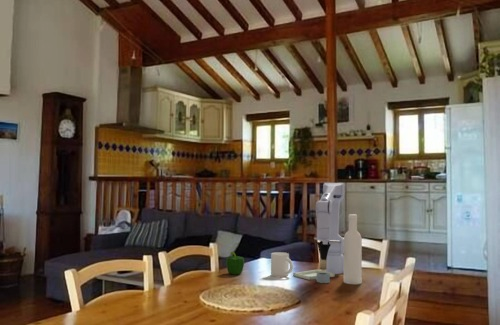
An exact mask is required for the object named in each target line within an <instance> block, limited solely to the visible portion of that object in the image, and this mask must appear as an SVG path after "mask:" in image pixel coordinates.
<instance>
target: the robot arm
mask: <svg viewBox="0 0 500 325" xmlns="http://www.w3.org/2000/svg"><path fill="white" fill-rule="evenodd" d="M322 186H323V187H322V193H323V194H322V195H321V196H320V199H319V200H317V201H316V202H315V212H316V213H315V216H316V237H314V238H313V239H314V240H316V242H315V243H316V245H317V249H318V252H319V253H318V255H319V257H320V256H321V260H326V259H327V269H325V271H326V272H331V273H335V275H341V274H344V237H343V236H341V235H340V234H339V230H340V205H341V202H342V201H343V200H344V199H345V188H346V187H345V183H343V182H324V183H323V185H322Z"/></svg>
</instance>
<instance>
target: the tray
mask: <svg viewBox="0 0 500 325" xmlns="http://www.w3.org/2000/svg"><path fill="white" fill-rule="evenodd" d="M320 272H321V273H329V274H330V278H333V277H335V275H336V274H335V273H331V272H326V270H323V269H312V270H311V269H310V270H305V271H298V272H296V271H295V272H293V277H296V278H299V279H304V280H308V281H313V280H317V273H320Z"/></svg>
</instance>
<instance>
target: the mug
mask: <svg viewBox="0 0 500 325" xmlns="http://www.w3.org/2000/svg"><path fill="white" fill-rule="evenodd" d="M293 265H294V264H293V261H292V260H291V258H290V254H289V252H288V253H287V252H278V251H277V252H276V251H275V252H272V253H270V275H271V276H272V277H275V278H277V277H280V278H281V277H288V276H289V275H290V274H291V273H292V271H293V267H294V266H293Z"/></svg>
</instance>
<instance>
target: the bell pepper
mask: <svg viewBox="0 0 500 325" xmlns="http://www.w3.org/2000/svg"><path fill="white" fill-rule="evenodd" d="M230 255H231V256H227V257H226V259H225V264H226V265H225V266H226V270H227V272H228V274H231V275H239V274H242V273H243V270H244V267H245V266H244V265H245V259H244V257H243V256H240V255H239V256H238V255H236V253H235V252H230Z"/></svg>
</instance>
